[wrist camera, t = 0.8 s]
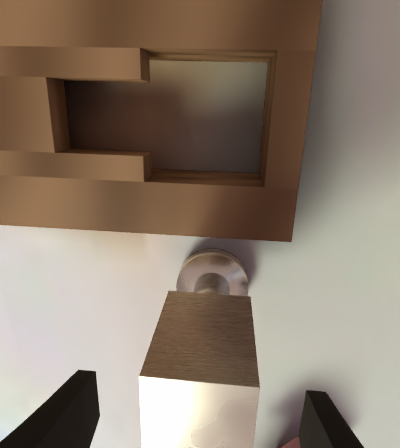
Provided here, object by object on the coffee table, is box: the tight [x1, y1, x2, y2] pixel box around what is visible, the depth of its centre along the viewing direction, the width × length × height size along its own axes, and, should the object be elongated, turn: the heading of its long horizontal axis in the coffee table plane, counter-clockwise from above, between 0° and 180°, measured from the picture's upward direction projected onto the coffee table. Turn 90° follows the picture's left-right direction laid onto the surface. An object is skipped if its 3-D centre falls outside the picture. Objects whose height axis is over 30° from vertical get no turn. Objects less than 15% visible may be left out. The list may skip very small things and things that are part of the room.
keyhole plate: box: [0, 0, 322, 242], centre depth 15 cm, size 14×10×3 cm
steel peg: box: [139, 249, 260, 448], centre depth 15 cm, size 4×4×10 cm
